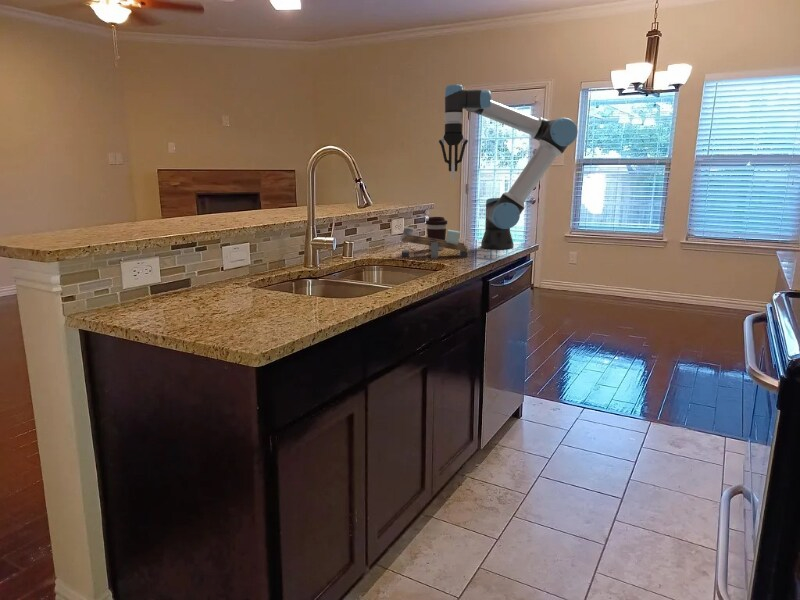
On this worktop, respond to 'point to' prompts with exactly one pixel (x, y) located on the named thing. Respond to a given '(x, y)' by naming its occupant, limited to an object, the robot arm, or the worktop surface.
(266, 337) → the worktop surface
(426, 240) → the beam
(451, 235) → the light blue block
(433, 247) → the fulcrum
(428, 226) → the coffee cup
